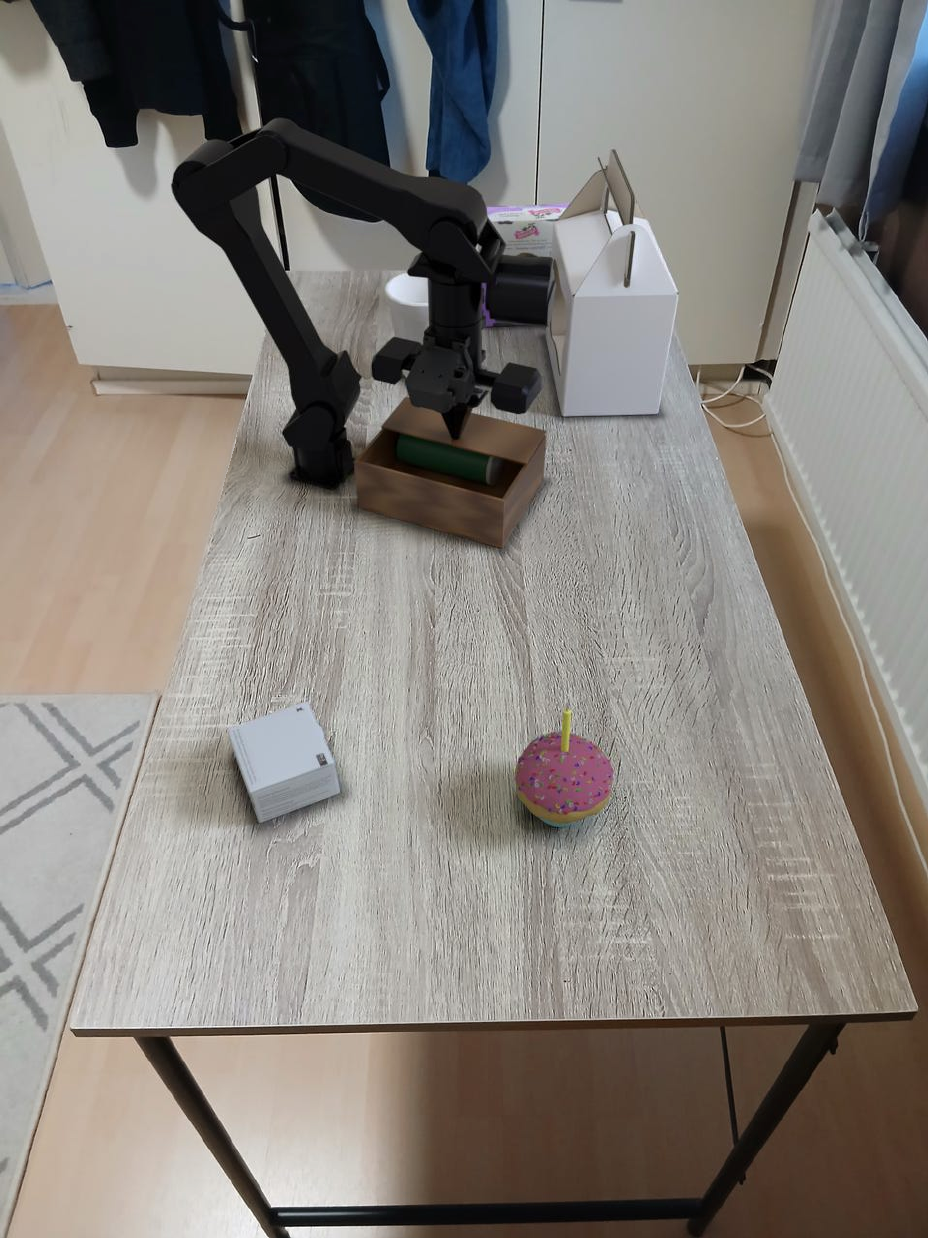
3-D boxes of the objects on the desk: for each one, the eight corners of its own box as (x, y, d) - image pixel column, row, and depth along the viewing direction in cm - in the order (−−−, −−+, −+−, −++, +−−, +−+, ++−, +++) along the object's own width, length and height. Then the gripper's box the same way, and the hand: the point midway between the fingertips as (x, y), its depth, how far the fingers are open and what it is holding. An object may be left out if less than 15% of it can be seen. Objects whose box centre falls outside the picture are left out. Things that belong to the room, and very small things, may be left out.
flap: (381, 428, 112) (380, 426, 112) (405, 398, 116) (405, 396, 116) (526, 465, 107) (526, 463, 106) (546, 432, 111) (546, 430, 110)
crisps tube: (404, 417, 114) (498, 440, 111) (417, 428, 119) (507, 450, 116) (392, 457, 114) (486, 481, 111) (406, 466, 119) (496, 489, 116)
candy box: (563, 306, 147) (571, 201, 136) (568, 325, 143) (577, 218, 132) (476, 309, 147) (477, 203, 135) (479, 327, 143) (480, 220, 131)
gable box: (545, 335, 141) (558, 139, 121) (631, 333, 141) (659, 137, 121) (561, 418, 126) (580, 208, 106) (658, 416, 126) (695, 206, 106)
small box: (235, 759, 87) (225, 726, 83) (315, 731, 89) (309, 698, 85) (258, 826, 82) (248, 793, 78) (342, 795, 84) (336, 761, 80)
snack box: (358, 507, 112) (353, 461, 107) (408, 446, 121) (405, 400, 116) (502, 548, 107) (504, 501, 102) (543, 481, 116) (546, 435, 111)
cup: (472, 367, 135) (472, 281, 125) (434, 399, 129) (431, 312, 119) (415, 348, 138) (412, 263, 129) (376, 379, 133) (369, 292, 123)
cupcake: (507, 769, 86) (512, 685, 77) (598, 762, 86) (613, 678, 78) (519, 851, 80) (525, 770, 71) (616, 843, 80) (634, 762, 72)
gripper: (341, 332, 96) (354, 456, 107) (509, 370, 91) (504, 496, 102) (389, 286, 103) (397, 406, 114) (547, 318, 98) (539, 441, 109)
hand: (456, 437), depth 110 cm, fingers closed, pressing on flap
